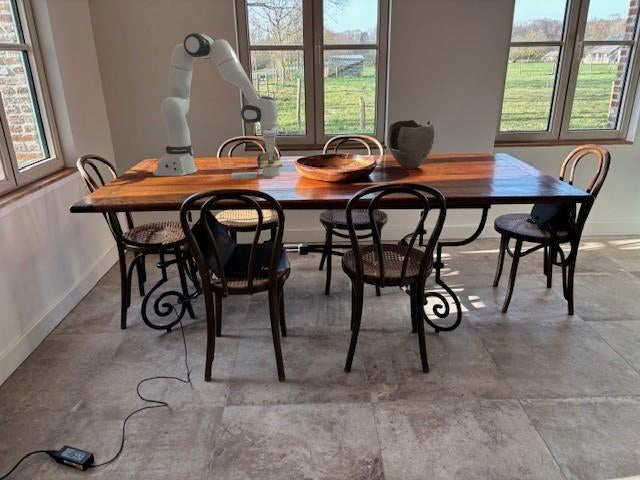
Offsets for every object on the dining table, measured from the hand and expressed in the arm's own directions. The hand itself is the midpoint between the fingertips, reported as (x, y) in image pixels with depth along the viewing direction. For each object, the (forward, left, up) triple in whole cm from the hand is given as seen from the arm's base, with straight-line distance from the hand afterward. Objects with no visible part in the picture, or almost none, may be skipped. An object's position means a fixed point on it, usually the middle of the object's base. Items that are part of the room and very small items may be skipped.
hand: (270, 158), depth 236 cm
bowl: (0, 0, -9) cm, 9 cm away
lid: (0, 0, -4) cm, 4 cm away
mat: (-14, 0, -9) cm, 17 cm away
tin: (-2, +20, -9) cm, 22 cm away
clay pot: (+74, +5, -9) cm, 75 cm away
